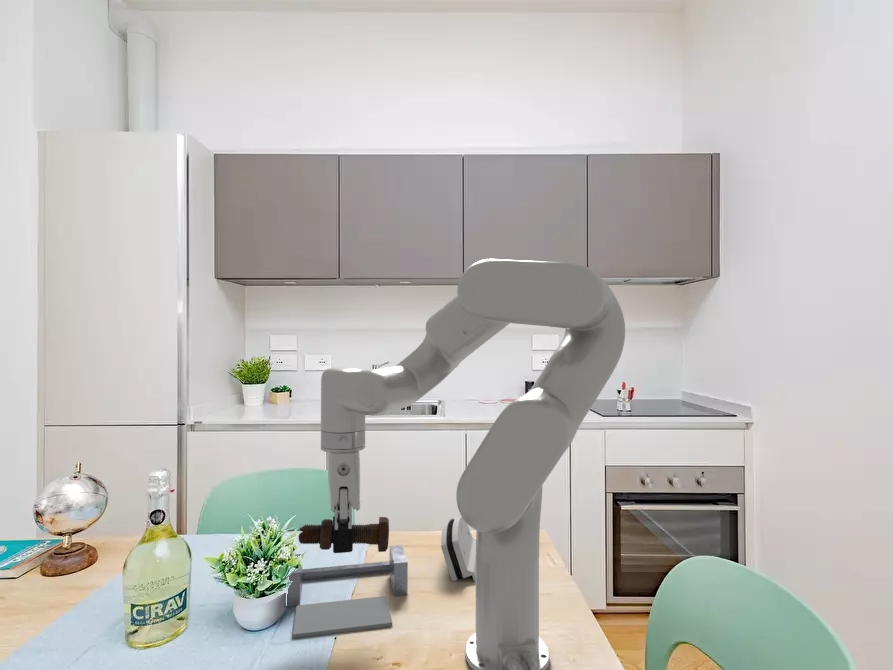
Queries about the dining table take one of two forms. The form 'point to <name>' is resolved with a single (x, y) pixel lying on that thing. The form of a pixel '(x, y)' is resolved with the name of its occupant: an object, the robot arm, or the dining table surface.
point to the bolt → (361, 534)
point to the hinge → (459, 549)
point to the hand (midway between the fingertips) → (342, 543)
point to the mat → (341, 616)
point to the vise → (394, 566)
